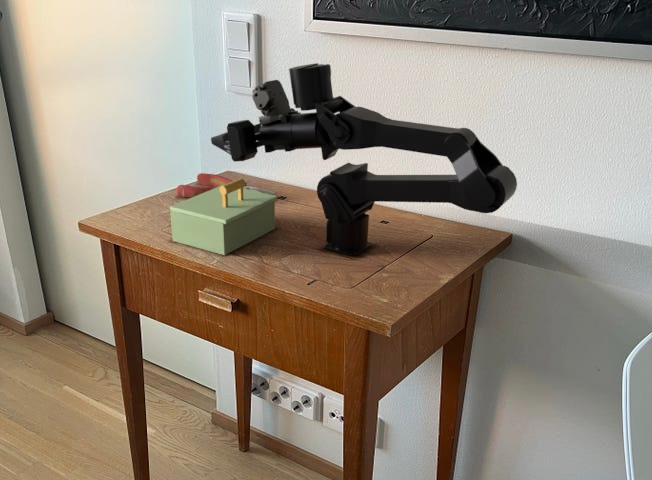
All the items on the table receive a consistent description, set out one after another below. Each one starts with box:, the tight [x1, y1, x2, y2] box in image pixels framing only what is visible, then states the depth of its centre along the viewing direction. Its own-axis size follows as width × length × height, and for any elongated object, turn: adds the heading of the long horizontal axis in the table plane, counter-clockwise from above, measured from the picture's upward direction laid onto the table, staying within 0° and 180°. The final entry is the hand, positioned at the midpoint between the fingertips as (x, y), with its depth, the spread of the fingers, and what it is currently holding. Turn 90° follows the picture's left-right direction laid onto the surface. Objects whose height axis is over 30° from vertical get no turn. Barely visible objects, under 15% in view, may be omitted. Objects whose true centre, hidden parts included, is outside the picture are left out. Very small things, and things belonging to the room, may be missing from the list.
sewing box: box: [169, 201, 276, 256], centre depth 133 cm, size 12×15×6 cm
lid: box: [169, 178, 278, 224], centre depth 131 cm, size 12×15×4 cm
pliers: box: [176, 172, 277, 199], centre depth 154 cm, size 12×20×3 cm, turn 68°
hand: (227, 136), depth 132 cm, fingers open, 9 cm apart
